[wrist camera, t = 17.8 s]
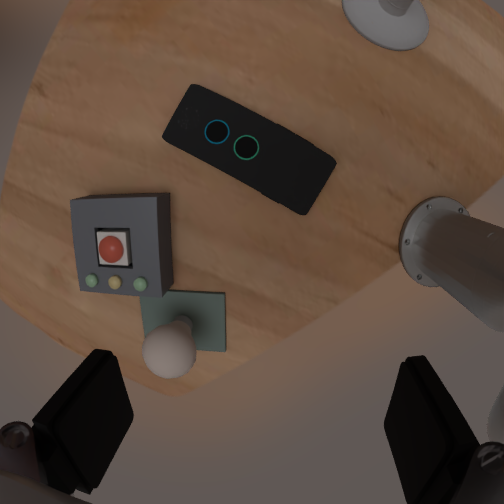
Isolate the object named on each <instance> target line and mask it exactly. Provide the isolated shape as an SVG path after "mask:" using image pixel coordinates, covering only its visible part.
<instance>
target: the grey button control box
mask: <svg viewBox="0 0 504 504" xmlns="http://www.w3.org/2000/svg"><path fill="white" fill-rule="evenodd" d="M70 207H71V220H72V232H73V242H74V250H75V258H76V266H77V273H78V279H79V286H80V291H88V292H98V293H109V294H120V295H131V296H144V297H157V298H163V296H164V295H165V294H166V292H167V291H168V290H169V288H170V287H171V286H172V284H173V267H172V248H171V223H170V193H139V194H109V195H89V196H85V197H80V198H76V199H72V200H70ZM105 228H130V237H131V251H132V263H131V264H129V265H128V266H127V265H109V264H100V260H99V251H98V241H97V232H98V231H100V230H103V229H105Z"/></svg>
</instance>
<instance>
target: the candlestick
mask: <svg viewBox="0 0 504 504" xmlns="http://www.w3.org/2000/svg"><path fill="white" fill-rule="evenodd" d="M342 7H343V11H344V13H345V16H346V18H347V19H348V21H349V22H350V24H351V25H352V26H353V28H354V29H355V30H356V31H357V32H358V33H359V34H361V35H362V36H363V37H364V38H366V39H367V40H369V41H370V42H372V43H374V44H376V45H378V46H380V47H383V48H386V49H389V50H395V51H406V50H411V49H413V48H416V47H417V46H419V45H420V44H421V43H422V42H423V41H424V40H425V39H426V37H427V34H428V31H429V21H428V17H427V14H426V11H425V9H424V7H423V6H422V4H421V3H420V1H419V0H342Z"/></svg>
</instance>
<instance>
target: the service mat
mask: <svg viewBox="0 0 504 504" xmlns="http://www.w3.org/2000/svg"><path fill="white" fill-rule="evenodd" d="M140 304H141V312H142V320H143V327H144V334H145V338H146V335H147V334H148V333H149V332H151V331H152V330H153V329H155V328H156V327H158V326H159V325H165V324H170V323H171V322H173V321H174V319H175V318H176V317H177V316H180V315H183V316H187V317H188V318H189V319H190V320H191V321H192V324H193V326H192V330H191V336H192V337H193V339H194V342H195V345H196V350H204V351H218V352H226V324H225V293H221V292H201V291H183V290H168V291H167V292H166V294H165V295H164V296H163V298H157V297H144V296H140Z"/></svg>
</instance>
